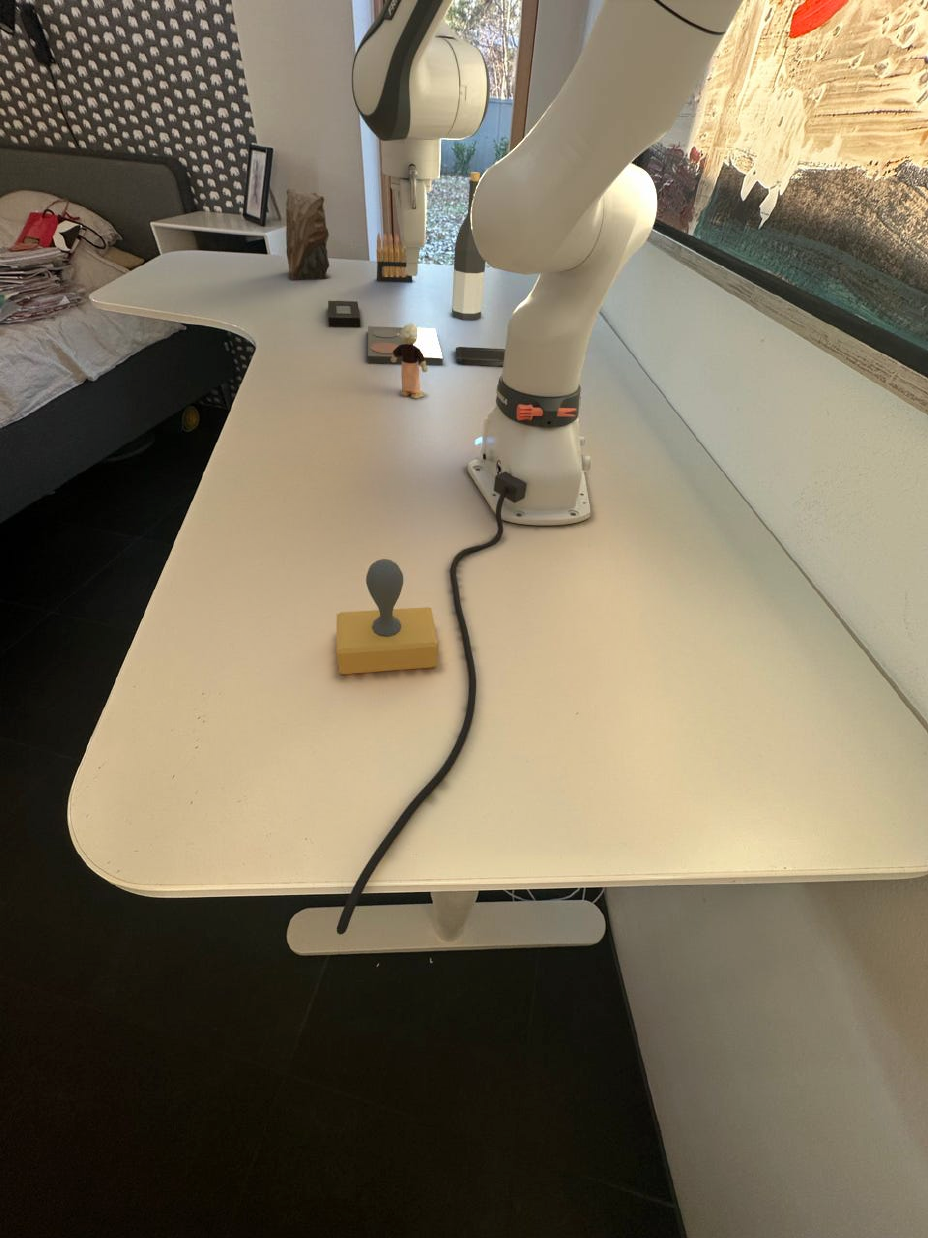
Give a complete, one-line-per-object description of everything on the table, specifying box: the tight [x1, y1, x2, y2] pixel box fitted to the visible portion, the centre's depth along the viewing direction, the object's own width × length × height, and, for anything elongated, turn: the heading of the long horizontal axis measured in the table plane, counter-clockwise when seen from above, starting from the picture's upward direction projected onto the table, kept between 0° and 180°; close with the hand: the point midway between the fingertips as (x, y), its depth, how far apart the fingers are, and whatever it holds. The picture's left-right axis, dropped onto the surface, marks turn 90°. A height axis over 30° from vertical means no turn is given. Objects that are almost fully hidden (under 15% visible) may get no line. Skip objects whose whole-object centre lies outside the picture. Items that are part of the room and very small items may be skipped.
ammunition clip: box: [376, 232, 413, 283], centre depth 164 cm, size 11×2×12 cm, turn 102°
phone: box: [454, 346, 505, 367], centre depth 123 cm, size 8×1×15 cm
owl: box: [285, 188, 330, 281], centre depth 159 cm, size 13×13×20 cm
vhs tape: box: [327, 300, 362, 328], centre depth 137 cm, size 8×14×2 cm, turn 10°
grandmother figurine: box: [391, 322, 428, 400], centre depth 102 cm, size 8×4×13 cm, turn 74°
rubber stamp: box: [335, 558, 439, 675], centre depth 54 cm, size 10×6×12 cm, turn 99°
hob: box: [367, 325, 444, 366], centre depth 125 cm, size 20×16×2 cm
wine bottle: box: [451, 171, 486, 321], centre depth 136 cm, size 8×8×30 cm
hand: (410, 267), depth 92 cm, fingers open, 8 cm apart
